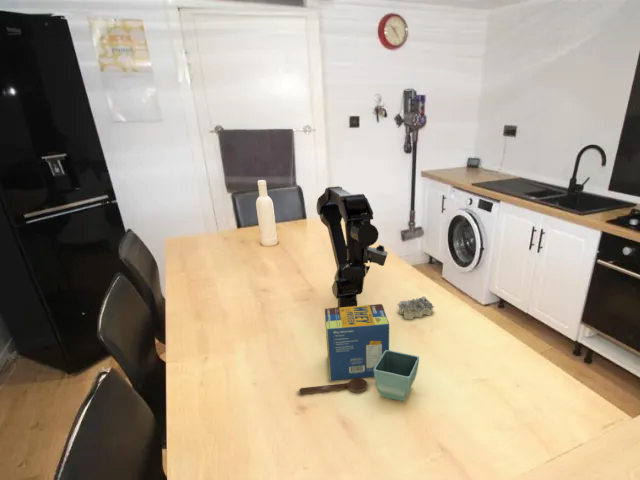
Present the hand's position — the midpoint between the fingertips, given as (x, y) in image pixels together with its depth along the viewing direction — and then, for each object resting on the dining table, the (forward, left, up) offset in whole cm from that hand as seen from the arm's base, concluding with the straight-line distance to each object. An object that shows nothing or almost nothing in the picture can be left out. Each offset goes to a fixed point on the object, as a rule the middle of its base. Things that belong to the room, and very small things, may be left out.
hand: (360, 292), depth 120 cm
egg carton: (+4, +20, -13) cm, 24 cm away
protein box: (+13, -13, -13) cm, 23 cm away
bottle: (-92, +22, -13) cm, 95 cm away
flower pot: (+28, -14, -13) cm, 34 cm away
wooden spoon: (+17, -23, -13) cm, 31 cm away
